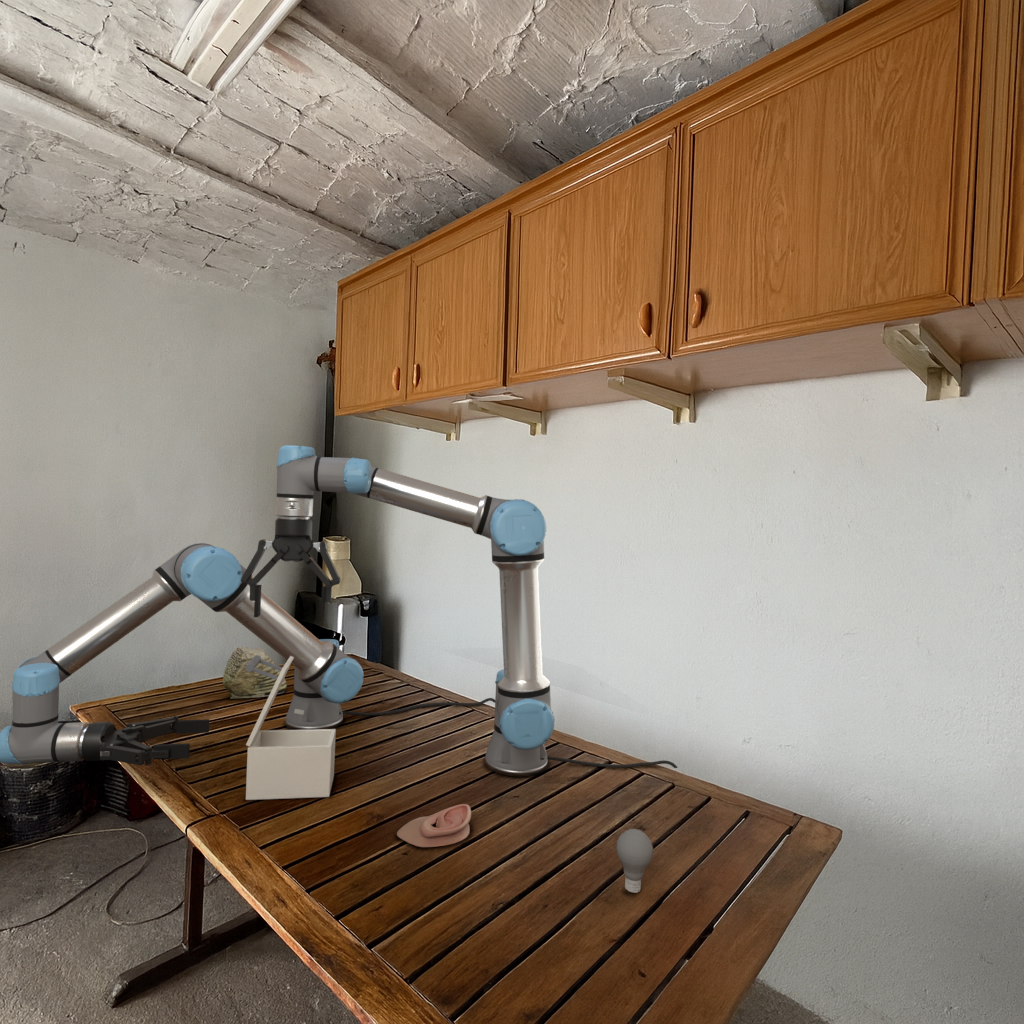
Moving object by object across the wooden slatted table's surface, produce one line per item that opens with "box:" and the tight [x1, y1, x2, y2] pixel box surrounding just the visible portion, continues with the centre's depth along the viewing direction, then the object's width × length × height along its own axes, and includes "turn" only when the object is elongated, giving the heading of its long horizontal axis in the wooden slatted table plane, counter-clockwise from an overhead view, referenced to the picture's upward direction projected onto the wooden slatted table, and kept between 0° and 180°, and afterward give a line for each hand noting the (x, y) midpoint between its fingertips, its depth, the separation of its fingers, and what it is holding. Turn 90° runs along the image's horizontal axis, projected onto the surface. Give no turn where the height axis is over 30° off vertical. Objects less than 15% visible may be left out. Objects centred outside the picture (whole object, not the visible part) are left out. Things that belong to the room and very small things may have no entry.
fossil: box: [222, 646, 288, 699], centre depth 198 cm, size 9×18×15 cm, turn 132°
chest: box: [245, 728, 337, 801], centre depth 137 cm, size 17×10×11 cm, turn 100°
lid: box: [245, 655, 294, 747], centre depth 135 cm, size 17×10×8 cm
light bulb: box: [615, 828, 654, 894], centre depth 106 cm, size 6×6×10 cm
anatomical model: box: [396, 803, 472, 848], centre depth 121 cm, size 13×4×12 cm
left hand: (199, 737), depth 134 cm, fingers open, 13 cm apart
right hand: (290, 616), depth 136 cm, fingers open, 13 cm apart
